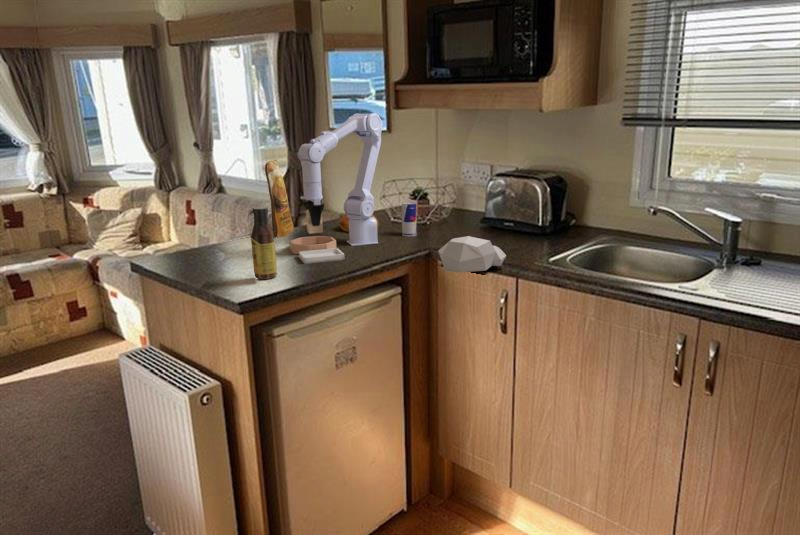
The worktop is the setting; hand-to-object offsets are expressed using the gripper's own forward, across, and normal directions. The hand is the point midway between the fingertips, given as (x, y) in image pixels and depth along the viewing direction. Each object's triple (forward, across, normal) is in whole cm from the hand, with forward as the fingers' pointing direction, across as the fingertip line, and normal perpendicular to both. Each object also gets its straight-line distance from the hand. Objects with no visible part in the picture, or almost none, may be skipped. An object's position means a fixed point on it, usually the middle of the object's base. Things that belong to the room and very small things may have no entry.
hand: (314, 224), depth 194 cm
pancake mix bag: (+10, -35, -7) cm, 37 cm away
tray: (+9, +8, 0) cm, 13 cm away
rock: (+10, +37, +39) cm, 54 cm away
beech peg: (+2, 0, 0) cm, 2 cm away
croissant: (+10, -31, +22) cm, 39 cm away
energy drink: (+10, -14, +37) cm, 41 cm away
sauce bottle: (+10, +24, -19) cm, 32 cm away
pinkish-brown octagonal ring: (+9, -6, 0) cm, 11 cm away
